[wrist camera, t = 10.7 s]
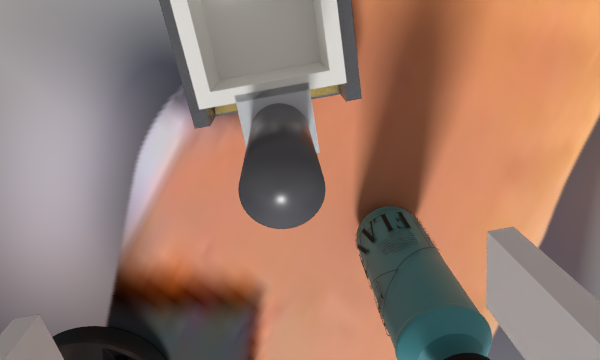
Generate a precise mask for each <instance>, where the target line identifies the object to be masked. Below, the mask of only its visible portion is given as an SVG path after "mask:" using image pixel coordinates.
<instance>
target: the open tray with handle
mask: <svg viewBox="0 0 600 360" xmlns="http://www.w3.org/2000/svg"><path fill="white" fill-rule="evenodd" d="M170 3H171V6H172V10H173V14H174V18H175V21H176V25H177V29H178V32H179V36H180V40H181V44H182V47H183V51H184V55H185V58H186V62H187V66H188V69H189V73H190V77H191V81H192V84H193V88H194V92H195V95H196V99H197V103H198V107H199V110H200V109H206V108H211V107H217V106H222V105H228V104H233V103H236V105H237V109H238V114H239V118H240V122H241V126H242V131H243V135H244V139H245V144H246V153H245V158H244V163H243V167H242V172H241V177H240V182H239V197H240V201H241V204H242V206H243V208H244V209H245V211H246V212H247V214H248V215H249V216H250V217H251V218H252V219H254V220H255V221H256V222H258V223H260V224H262V225H264V226H267V227H270V228H275V229H288V228H293V227H297V226H299V225H302V224H304V223H305V222H307V221H308V220H310V219H311V218H312V217H313V216H314V215H315V214H316V213H317V212H318V210H319V209H320V207H321V205H322V203H323V200H324V197H325V181H324V177H323V174H322V171H321V167H320V164H319V161H318V157H317V154H316V153H320V152H319V145H318V139H317V133H316V126H315V120H314V114H313V107H312V101H311V94H310V90H311V89H316V88H322V87H327V86H333V85H338V84H344V83H347V81H346V73H345V65H344V56H343V48H342V40H341V32H340V23H339V15H338V7H337V0H170Z"/></svg>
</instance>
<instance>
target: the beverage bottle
mask: <svg viewBox="0 0 600 360" xmlns="http://www.w3.org/2000/svg"><path fill="white" fill-rule="evenodd" d="M414 215H415V214H414ZM414 215H413V214H411V213H410V212H408V211H406V209H405V210H404V209H403V208H399V207H395V206H386V207H381V208H378V209H376V210H374V211H372V212H371V213H369V214H368V215H367V216H366V217H365V218H364V219H363V220H362V222H361V224H360V225H359V228H358V230H357V231H358V232H357V233H356V234H357V240H355V241H356V242H357V244H356V245H357V246H356V247H357V248H358V249H359V251H360V254H361V257H362V260H363V262H362V265H363V263H364V265H365V268H366V270H365V268H364V270H365V273H366V276H367V274H368V276H367V278H368V277H369V279H370V282H371V285H372V288H371V289H373V292H374V293H375V294H374V295H375V296H376V298H374V299H377V302H378V305H379V306H377V307H379V308H378V310H381V312H380V311H379V313H381V314H380V316H381V315H382V319H384V321H385V322H383V323H385V324H386V325H385V324H384V326H386V327H387V328H386V327H385V328H386V329H387V330H388V333H389V335H390V337H391V340H392V342H393V345H394V348H395V353H396V357H397V360H490V359H489V358H487V355H488V352H489V350H490V347H491V344H492V333H491V329H490V326H489V324H488V322H487V321H486V319H485V318H484V317H483V316H482V315H481V314H480V313H479V311H478V310H477V308H476V307H475V305H474V304H473V302H472V301H471V300H470V298H469V297H468V295H467V294H466V292H465V291H464V289H463V288H462V286H461V285H460V283H459V282H458V281H457V279H456V278H455V276H454V275H453V273H452V272H451V270H450V269H449V267H448V266H447V265H446V263H445V262H444V260H443V258H442V256H441V255H440V253H439V252H438V250H437V249H438V248H437V249H436V247H435V246H434V244H433V243H432V241H431V240H430V239H431V238H430V237H428V236H430V235H428V234H429V233H428V234H426V231H427V230H426V229H425V228H422V226H421V225H420V224H421V223H420V221H419V222H418V220H417V219H418V218H417V219H416V218H415V216H414ZM424 229H425V230H426V231H424ZM433 242H434V241H433ZM360 254H359V256H360ZM361 257H360V259H361ZM362 260H361V261H362ZM364 265H363V267H364ZM377 302H376V303H377ZM386 329H385V330H386ZM389 335H388V336H389Z"/></svg>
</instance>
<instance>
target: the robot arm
mask: <svg viewBox="0 0 600 360" xmlns="http://www.w3.org/2000/svg"><path fill="white" fill-rule="evenodd" d="M486 307H487V309H488V310H489V311H490V313H491V314H492V315H493V317H494V318H495V319H496V321H497V322H498V323H499V325H500V326H501V327H502V329H503V330H504V331H505V333H506V334H507V336H508V337H509V338H510V340H511V341H512V342H513V344H514V345H515V346H516V348H517V349H518V350H519V352H520V353H521V355H522V356H523V357H524V358H525V360H600V302H599V301H598V300H597V299H596V298H595V297H594V296H592V295H591V294H590V293H589V292H588V291H587V290H586V289H584V288H583V287H582V286H581V285H580V284H579V283H577V282H576V281H575V280H574V279H573V278H572V277H571V276H569V275H568V274H567V273H566V272H565V271H564V270H563V269H561V268H560V267H559V266H558V265H557V264H556V263H554V262H553V261H552V260H551V259H550V258H549V257H547V256H546V255H545V254H544V253H543V252H542V251H541V250H540V249H538V248H537V247H536V246H535V245H534V244H533V243H531V242H530V241H529V240H528V239H527V238H526V237H525V236H523V235H522V234H521V233H520V232H519V231H518V230H517V229H515V228H514V227H509V228H504V229H498V230H493V231H487V293H486ZM0 360H165V358H164V357H163V356H162V354H161V353H160V352H159V351H158V350H157V349H156V348H155V347H153V346H152V345H151V344H150V343H148V342H147V341H145V340H143V339H142V338H140V337H138V336H136V335H134V334H131V333H129V332H126V331H123V330H119V329H115V328H109V327H100V326H88V327H80V328H74V329H70V330H67V331H64V332H61V333H59V334H57V335H55V336H53V337H52V336H51V334H50V332H49V331H48V329H47V327H46V325H45V323H44V321H43V319H42V317H41V316H40V314H38V315H33V316H27V317H22V318H17V319H13V321H12V322H11V323H10V324H9V325H8V326H7V328H6V329H5V330H4V331H3V332H2V333H1V335H0Z"/></svg>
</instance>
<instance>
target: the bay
mask: <svg viewBox="0 0 600 360" xmlns="http://www.w3.org/2000/svg"><path fill="white" fill-rule="evenodd" d="M159 1H160V5H161V9H162V12H163V16H164V19H165V23H166V27H167V30H168V34H169V37H170V40H171V44H172V48H173V52H174V55H175V59H176V62H177V66H178V70H179V73H180V77H181V80H182V84H183V88H184V91H185V95H186V98H187V102H188V105H189V109H190V113H191V116H192V120H193V123H194V127H195V128H201V127H206V126H210V125H211V124H212V122H213V120H214V118H215V117H216V116H222V115H227V114H233V113H238V109H237V105H236V103H233V104H228V105H222V106H217V107H211V108H206V109H200V110H199V107H198V103H197V99H196V95H195V92H194V88H193V84H192V81H191V77H190V73H189V69H188V66H187V62H186V58H185V55H184V51H183V47H182V44H181V40H180V36H179V32H178V29H177V25H176V21H175V18H174V14H173V10H172V6H171V3H170V0H159ZM337 7H338V15H339V23H340V32H341V40H342V48H343V56H344V65H345V73H346V81H347V83H344V84H338V85H333V86H327V87H322V88H316V89H311V90H310V94H311V99H316V98H321V97H327V96H332V95H338V94H341V96H342V97H343V98H344V99H345V100H346V101H351V100H356V99H362V97H361V88H360V79H359V69H358V60H357V51H356V42H355V32H354V23H353V14H352V5H351V0H337Z"/></svg>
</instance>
